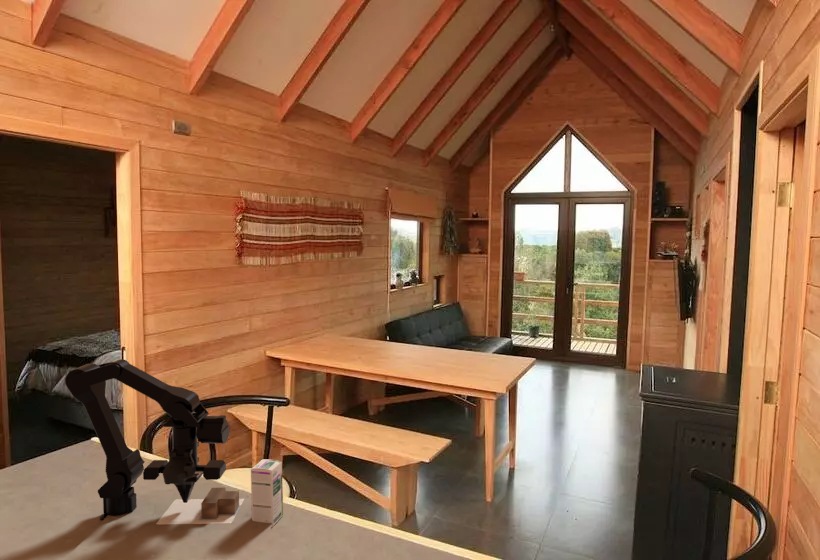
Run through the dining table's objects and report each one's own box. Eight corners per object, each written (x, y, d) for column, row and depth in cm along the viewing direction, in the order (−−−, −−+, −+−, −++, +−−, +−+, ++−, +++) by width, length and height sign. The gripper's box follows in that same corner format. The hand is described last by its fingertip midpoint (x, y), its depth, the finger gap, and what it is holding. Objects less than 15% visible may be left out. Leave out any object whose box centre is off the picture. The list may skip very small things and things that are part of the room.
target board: (155, 528, 126) (155, 524, 126) (175, 503, 138) (175, 499, 138) (231, 527, 127) (231, 523, 127) (244, 502, 139) (244, 498, 139)
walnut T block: (201, 518, 129) (201, 503, 128) (212, 502, 137) (211, 487, 136) (232, 518, 129) (232, 502, 129) (241, 502, 137) (241, 487, 137)
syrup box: (273, 527, 127) (272, 470, 126) (250, 524, 128) (250, 467, 127) (283, 515, 133) (283, 460, 131) (262, 512, 134) (261, 458, 133)
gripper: (131, 455, 123) (133, 519, 124) (212, 455, 124) (212, 518, 125) (152, 437, 134) (153, 496, 135) (226, 437, 135) (226, 496, 136)
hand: (185, 502), depth 133 cm, fingers closed
